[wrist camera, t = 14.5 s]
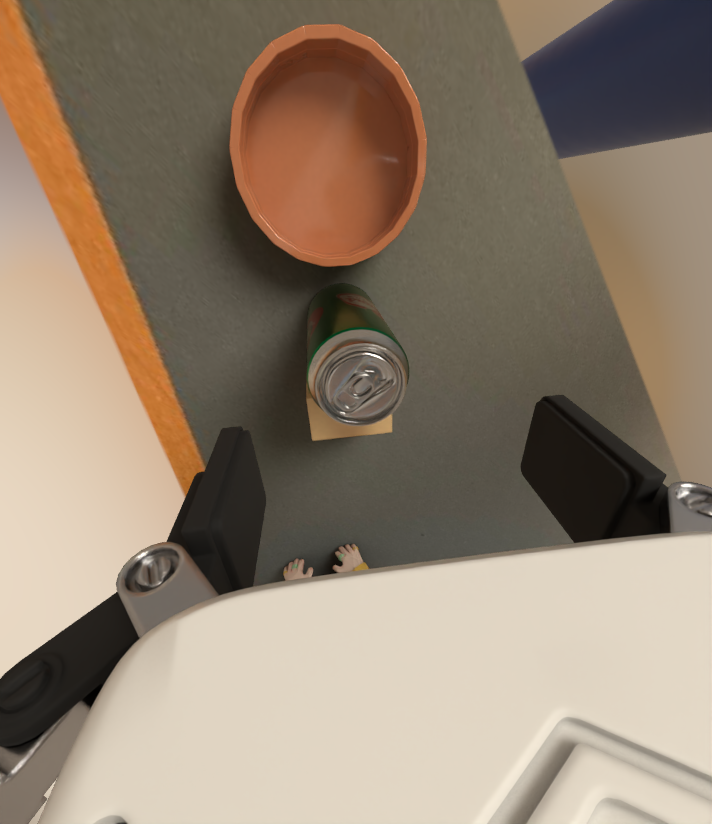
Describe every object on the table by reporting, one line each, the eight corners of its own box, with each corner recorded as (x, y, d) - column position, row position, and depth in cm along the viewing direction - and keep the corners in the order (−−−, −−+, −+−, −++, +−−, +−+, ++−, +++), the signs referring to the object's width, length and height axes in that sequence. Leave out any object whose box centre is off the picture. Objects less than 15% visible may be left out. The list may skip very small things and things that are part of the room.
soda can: (387, 315, 27) (436, 384, 17) (341, 361, 28) (360, 450, 18) (340, 265, 25) (363, 309, 14) (293, 317, 26) (283, 391, 16)
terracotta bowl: (415, 45, 19) (432, 22, 17) (410, 254, 25) (422, 260, 22) (219, 50, 19) (205, 26, 16) (258, 265, 24) (252, 272, 22)
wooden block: (379, 362, 29) (392, 390, 25) (380, 400, 31) (392, 432, 26) (306, 369, 28) (306, 398, 24) (311, 407, 30) (312, 441, 26)
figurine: (368, 540, 46) (341, 518, 33) (397, 621, 41) (379, 632, 28) (300, 569, 46) (246, 558, 33) (321, 653, 41) (268, 679, 28)
